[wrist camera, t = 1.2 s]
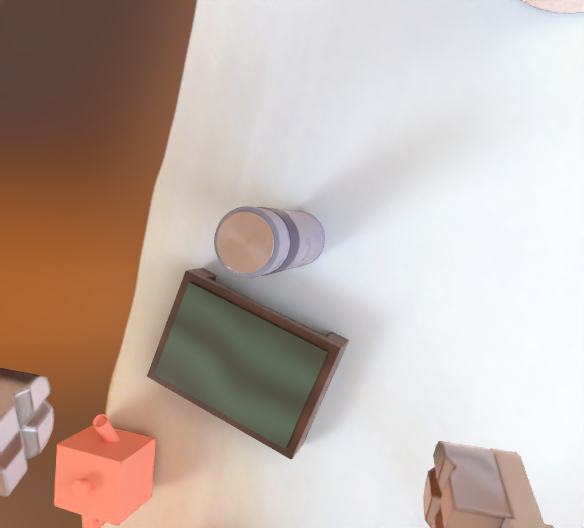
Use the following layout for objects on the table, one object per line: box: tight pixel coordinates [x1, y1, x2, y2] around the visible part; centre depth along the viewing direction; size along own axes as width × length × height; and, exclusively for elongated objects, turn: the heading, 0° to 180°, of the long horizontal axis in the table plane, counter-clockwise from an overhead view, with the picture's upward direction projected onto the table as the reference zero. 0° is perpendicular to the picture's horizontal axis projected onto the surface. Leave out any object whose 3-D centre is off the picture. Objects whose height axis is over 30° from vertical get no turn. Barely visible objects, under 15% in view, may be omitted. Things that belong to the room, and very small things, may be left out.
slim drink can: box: [214, 207, 325, 278], centre depth 45 cm, size 5×5×14 cm
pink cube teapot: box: [54, 414, 156, 528], centre depth 55 cm, size 8×12×8 cm, turn 175°
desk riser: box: [147, 268, 349, 459], centre depth 52 cm, size 12×17×4 cm
